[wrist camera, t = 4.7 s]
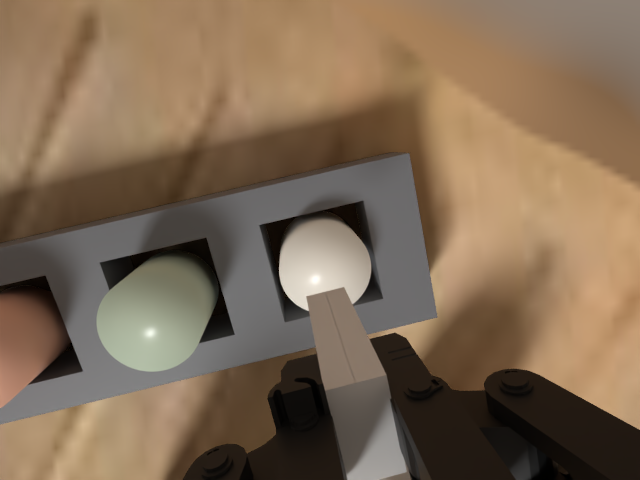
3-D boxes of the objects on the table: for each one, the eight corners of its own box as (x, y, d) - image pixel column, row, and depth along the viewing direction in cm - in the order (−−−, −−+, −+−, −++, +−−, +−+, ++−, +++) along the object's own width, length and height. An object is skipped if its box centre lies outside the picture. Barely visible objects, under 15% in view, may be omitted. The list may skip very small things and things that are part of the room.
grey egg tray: (-11, 398, 28) (-58, 438, 25) (-74, 260, 26) (-137, 279, 22) (417, 294, 29) (437, 317, 25) (391, 152, 27) (409, 152, 23)
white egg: (290, 291, 28) (291, 323, 23) (272, 220, 27) (269, 236, 22) (362, 274, 28) (379, 301, 23) (347, 202, 27) (361, 215, 22)
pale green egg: (149, 336, 26) (116, 382, 21) (123, 260, 25) (81, 289, 20) (228, 317, 26) (214, 358, 21) (205, 241, 25) (185, 265, 20)
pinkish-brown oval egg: (4, 371, 26) (-65, 426, 21) (-29, 296, 25) (-110, 334, 20) (85, 352, 26) (36, 401, 21) (56, 276, 25) (-3, 309, 20)
